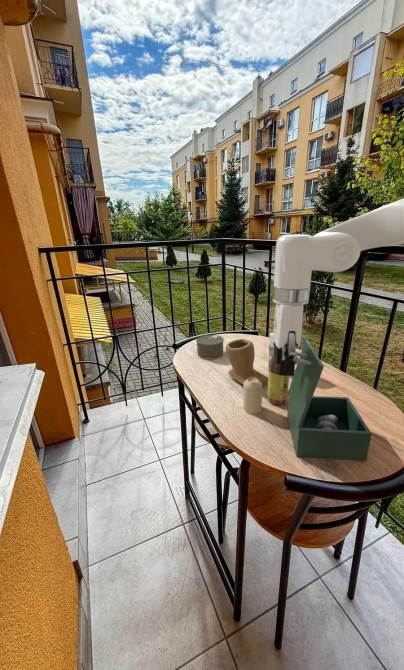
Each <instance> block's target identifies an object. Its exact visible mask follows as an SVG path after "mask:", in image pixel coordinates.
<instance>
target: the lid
mask: <svg viewBox="0 0 404 670" xmlns="http://www.w3.org/2000/svg"><path fill="white" fill-rule="evenodd" d="M295 365H296V366H295V370H294V375H293V376H292V379H291V382H290V384H289V387H288V401H289V400H290V403H291V406H292V410H293V413H294V417H295V420H296V424H297V427H298V428H301V427H302V424H303V422H304V419H305V416H306V413H307V411H308V408H309V405H310V403H311V400H312V397H313V396H314V394H315V392H316V389H317V386H318V383H319V381H320V378H321V376H322V373H323V370H324V367H325V366H324V365H325V364H323V362H322V361H321V359H320V357H319V355H318V354H317V352H316V351H315V349H314V347H313V345H312V344H311V342H310V340H308V339H305V340H304V342H303V345H302V349H301V352H300V351H296V354H295Z"/></svg>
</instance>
